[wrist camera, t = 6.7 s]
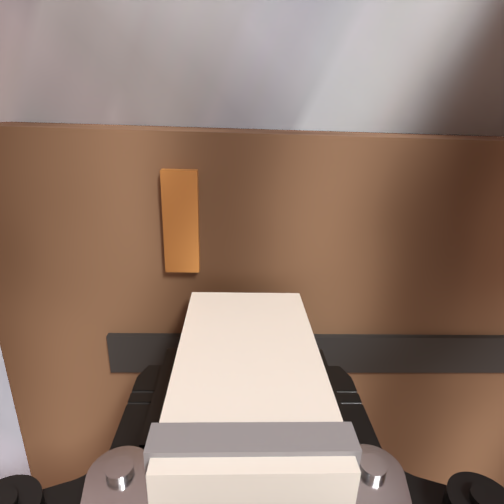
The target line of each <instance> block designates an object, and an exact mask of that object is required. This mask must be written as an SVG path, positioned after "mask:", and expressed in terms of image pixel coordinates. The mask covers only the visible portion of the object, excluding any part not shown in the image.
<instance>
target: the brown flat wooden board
mask: <svg viewBox="0 0 504 504" xmlns="http://www.w3.org/2000/svg"><path fill="white" fill-rule="evenodd" d="M192 292H232V293H299V294H300V297H301V299H302V302H303V305H304V308H305V311H306V314H307V317H308V320H309V323H310V326H311V329H312V332H313V334H314V337H315V340H316V343H317V346H318V349H322V350H323V353H324V356H325V359H326V361H327V364H328V366H340V367H341V368H342V369H343V370H344V371H345V372H346V373H347V374H348V375H350V376H351V378H352V380H353V382H354V385H355V387H356V389H357V393H358V394H359V396H360V399H361V401H362V404H363V406H364V408H365V410H366V413H367V415H368V417H369V420H370V422H371V424H372V427H373V429H374V431H375V434H376V436H377V438H378V441H379V443H380V445H381V448H382V449H383V450H385V451H387V452H388V453H390V454H391V455H392V456H393V457H394V458H395V459H396V460H397V461H398V462H399V464H400V465H401V467H402V468H403V470H404V471H405V472H407V473H409V474H412V475H414V476H417V477H420V478H423V479H427V480H430V481H434V482H438V483H441V484H445V485H447V482H448V480H449V478H450V477H451V476H452V475H454V474H455V473H458V472H464V471H465V472H474V473H478V474H481V475H484V476H486V477H488V478H490V479H492V480H494V481H495V482H497V483H499V484H500V485H501V486H503V487H504V137H502V136H469V135H435V134H402V133H368V132H334V131H301V130H267V129H234V128H200V127H167V126H133V125H100V124H66V123H33V122H0V346H1V350H2V354H3V359H4V363H5V367H6V371H7V376H8V380H9V384H10V388H11V392H12V397H13V401H14V405H15V409H16V413H17V418H18V422H19V426H20V430H21V434H22V439H23V443H24V447H25V451H26V455H27V460H28V464H29V468H30V472H31V476H32V477H34V478H36V479H37V480H38V481H39V482H40V484H41V486H42V489H45V488H48V487H52V486H55V485H58V484H62V483H65V482H68V481H72V480H74V479H77V478H79V477H81V476H84V475H85V474H87V472H88V470H89V468H90V467H91V465H92V464H93V463H94V462H95V461H96V459H98V458H99V457H100V456H101V455H103V454H104V453H106V452H107V451H109V449H110V447H111V444H112V442H113V439H114V437H115V434H116V431H117V429H118V426H119V423H120V421H121V418H122V415H123V413H124V410H125V407H126V405H127V404H128V400H129V397H130V394H131V393H132V389H133V386H134V384H135V381H136V378H137V376H138V375H139V374H140V373H141V372H142V371H143V370H144V369H145V368H146V367H147V366H148V365H162V364H163V361H164V357H165V354H166V351H167V349H168V348H178V345H179V341H180V337H181V334H182V330H183V326H184V322H185V318H186V314H187V310H188V306H189V302H190V298H191V294H192Z"/></svg>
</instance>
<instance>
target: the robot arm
mask: <svg viewBox="0 0 504 504" xmlns="http://www.w3.org/2000/svg"><path fill="white" fill-rule="evenodd" d="M177 349H178V348H168V349H167V351H166V354H165V357H164V361H163V364H162V365H148V366H147V367H146V368H145V369H144V370H143V371H142V372H141V373H140V374H139V375H138V376H137V378H136V381H135V384H134V386H133V389H132V393H131V394H130V397H129V400H128V404H127V405H126V407H125V410H124V413H123V415H122V418H121V421H120V423H119V426H118V429H117V431H116V434H115V437H114V439H113V442H112V444H111V447H110V449H109V451H107V452H106V453H104V454H103V455H101V456H100V457H99V458H98V459H96V461H95V462H94V463H93V464H92V465H91V467H90V468H89V470H88V472H87V474H85V475H84V476H81V477H79V478H77V479H74V480H72V481H68V482H65V483H62V484H58V485H55V486H52V487H48V488H45V489H42V486H41V484H40V482H39V481H38V480H37V479H36V478H34V477H32V476H29V475H13V476H9V477H5V478H3V479H0V504H148V500H147V489H146V479H145V468H144V457H143V452H144V448H145V444H146V441H147V437H148V433H149V430H150V426H151V423H159V421H160V417H161V413H162V409H163V405H164V401H165V397H166V393H167V389H168V385H169V381H170V377H171V373H172V369H173V365H174V361H175V357H176V353H177ZM319 352H320V355H321V358H322V361H323V364H324V366H325V369H326V372H327V375H328V378H329V381H330V384H331V387H332V390H333V393H334V396H335V399H336V401H337V404H338V407H339V410H340V413H341V416H342V419H343V422H352V425H353V427H354V430H355V433H356V435H357V438H358V441H359V444H360V446H361V449H362V456H361V461H360V467H359V468H360V471H361V476H360V482H359V488H358V493H357V499H356V504H504V487H503V486H501V485H500V484H499V483H497V482H495V481H494V480H492V479H490V478H488V477H486V476H484V475H481V474H478V473H474V472H465V471H464V472H458V473H455V474H454V475H452V476H451V477H450V478H449V480H448V482H447V485H445V484H441V483H438V482H434V481H430V480H427V479H423V478H420V477H417V476H414V475H412V474H409V473H407V472H405V471H404V470H403V468H402V467H401V465H400V464H399V462H398V461H397V460H396V459H395V458H394V457H393V456H392V455H391V454H390V453H388V452H387V451H385V450H383V449H382V448H381V445H380V443H379V441H378V438H377V436H376V434H375V431H374V429H373V427H372V424H371V422H370V420H369V417H368V415H367V413H366V410H365V408H364V406H363V404H362V401H361V399H360V396H359V394H358V393H357V389H356V387H355V385H354V382H353V380H352V378H351V376H350V375H348V374H347V373H346V372H345V371H344V370H343V369H342V368H341V367H340V366H328V364H327V361H326V359H325V356H324V353H323V350H322V349H319Z"/></svg>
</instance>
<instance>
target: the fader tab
mask: <svg viewBox="0 0 504 504" xmlns="http://www.w3.org/2000/svg"><path fill="white" fill-rule="evenodd" d="M361 456H362V449H361V446H360V444H359V441H358V438H357V435H356V433H355V430H354V427H353V425H352V422H343V419H342V416H341V413H340V410H339V407H338V404H337V401H336V399H335V396H334V393H333V390H332V387H331V384H330V381H329V378H328V375H327V372H326V369H325V366H324V364H323V361H322V358H321V355H320V352H319V349H318V346H317V343H316V340H315V337H314V334H313V332H312V329H311V326H310V323H309V320H308V317H307V314H306V311H305V308H304V305H303V302H302V299H301V297H300V294H299V293H232V292H192V294H191V298H190V302H189V306H188V310H187V314H186V318H185V322H184V326H183V330H182V334H181V337H180V341H179V345H178V349H177V353H176V357H175V361H174V365H173V369H172V373H171V377H170V381H169V385H168V389H167V393H166V397H165V401H164V405H163V409H162V413H161V417H160V421H159V423H151V426H150V430H149V433H148V437H147V441H146V444H145V448H144V452H143V457H144V468H145V479H146V489H147V500H148V504H356V499H357V493H358V488H359V482H360V476H361V471H360V468H359V467H360V461H361Z"/></svg>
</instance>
